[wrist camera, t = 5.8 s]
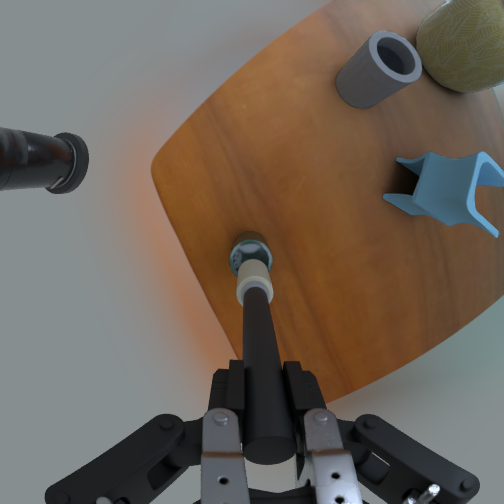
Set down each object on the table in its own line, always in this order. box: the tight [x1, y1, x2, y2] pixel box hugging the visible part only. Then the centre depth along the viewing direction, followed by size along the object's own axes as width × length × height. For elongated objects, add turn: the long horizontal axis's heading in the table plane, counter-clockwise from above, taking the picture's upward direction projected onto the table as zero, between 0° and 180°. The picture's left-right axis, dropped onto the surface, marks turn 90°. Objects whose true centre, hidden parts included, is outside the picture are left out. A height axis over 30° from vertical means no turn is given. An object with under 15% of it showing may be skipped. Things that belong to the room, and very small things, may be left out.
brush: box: [236, 259, 298, 465], centre depth 19 cm, size 3×3×22 cm
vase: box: [416, 0, 504, 93], centre depth 23 cm, size 17×17×27 cm
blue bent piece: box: [382, 151, 504, 238], centre depth 32 cm, size 8×8×20 cm
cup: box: [336, 31, 422, 108], centre depth 31 cm, size 8×8×14 cm
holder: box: [229, 231, 273, 277], centre depth 39 cm, size 5×5×8 cm
